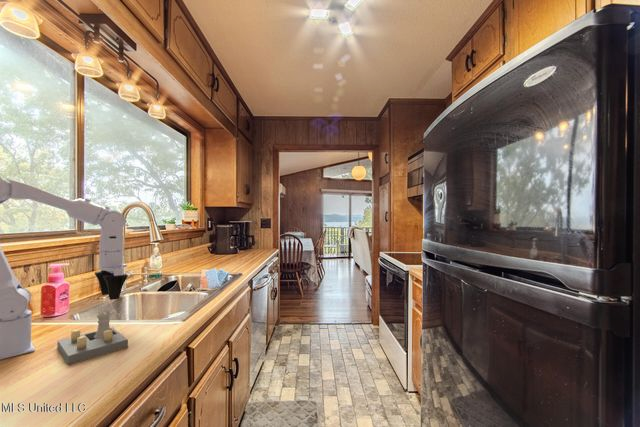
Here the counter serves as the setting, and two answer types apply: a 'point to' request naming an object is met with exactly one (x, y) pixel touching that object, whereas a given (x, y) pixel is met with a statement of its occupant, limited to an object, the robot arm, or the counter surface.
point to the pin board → (90, 345)
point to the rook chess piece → (102, 324)
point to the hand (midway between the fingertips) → (110, 296)
